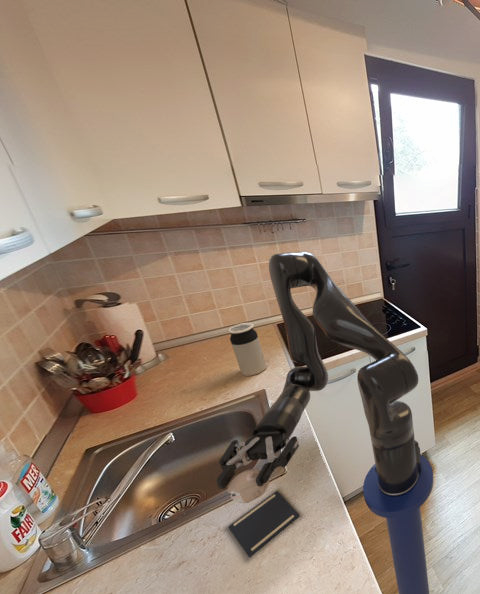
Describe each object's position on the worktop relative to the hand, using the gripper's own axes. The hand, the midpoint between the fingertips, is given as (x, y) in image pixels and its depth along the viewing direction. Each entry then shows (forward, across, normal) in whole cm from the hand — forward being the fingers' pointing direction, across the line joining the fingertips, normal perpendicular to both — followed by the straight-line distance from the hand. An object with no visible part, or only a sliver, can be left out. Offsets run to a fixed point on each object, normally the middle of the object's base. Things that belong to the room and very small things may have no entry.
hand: (239, 484), depth 63 cm
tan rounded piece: (-2, 0, +6) cm, 7 cm away
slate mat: (-2, 0, +14) cm, 14 cm away
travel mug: (-61, -33, +15) cm, 71 cm away
